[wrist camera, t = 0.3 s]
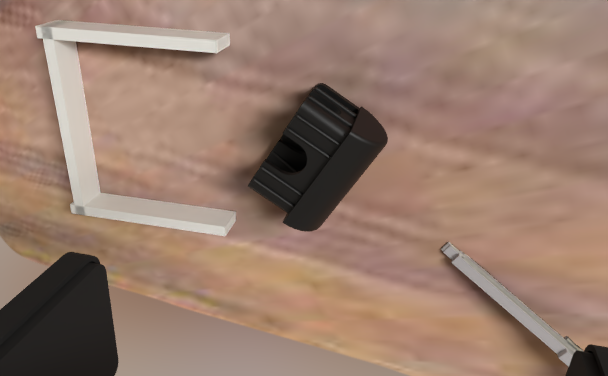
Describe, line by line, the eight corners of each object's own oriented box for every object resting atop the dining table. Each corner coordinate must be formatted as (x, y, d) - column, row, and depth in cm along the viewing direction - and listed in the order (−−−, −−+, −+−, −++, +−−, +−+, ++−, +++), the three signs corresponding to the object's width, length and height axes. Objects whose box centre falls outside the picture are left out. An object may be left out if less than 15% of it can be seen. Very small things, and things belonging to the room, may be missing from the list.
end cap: (327, 206, 50) (312, 244, 44) (264, 162, 50) (240, 196, 44) (392, 124, 45) (385, 155, 39) (323, 75, 45) (305, 99, 39)
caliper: (617, 364, 51) (639, 418, 45) (608, 370, 51) (628, 424, 46) (448, 239, 49) (449, 280, 44) (440, 247, 50) (440, 288, 44)
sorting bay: (57, 19, 48) (35, 26, 45) (229, 33, 45) (216, 40, 42) (88, 199, 56) (71, 213, 53) (236, 220, 53) (225, 236, 50)
